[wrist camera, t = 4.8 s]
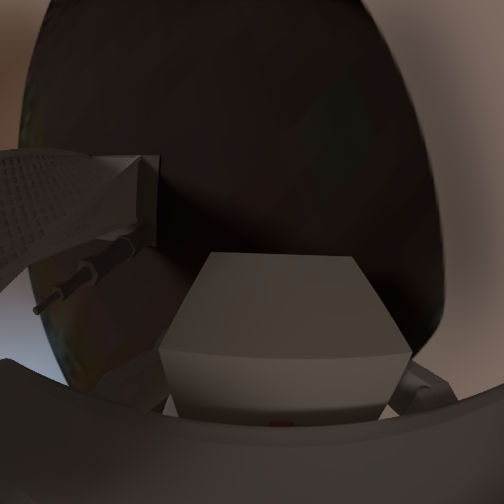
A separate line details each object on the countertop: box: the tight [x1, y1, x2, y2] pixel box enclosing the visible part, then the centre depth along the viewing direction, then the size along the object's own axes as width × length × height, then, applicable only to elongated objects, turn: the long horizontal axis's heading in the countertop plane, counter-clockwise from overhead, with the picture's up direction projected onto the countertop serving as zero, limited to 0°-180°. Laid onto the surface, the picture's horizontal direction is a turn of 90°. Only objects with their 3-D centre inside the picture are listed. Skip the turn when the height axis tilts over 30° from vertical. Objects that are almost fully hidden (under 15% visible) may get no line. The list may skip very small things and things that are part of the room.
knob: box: [158, 252, 412, 427], centre depth 9 cm, size 6×6×7 cm
